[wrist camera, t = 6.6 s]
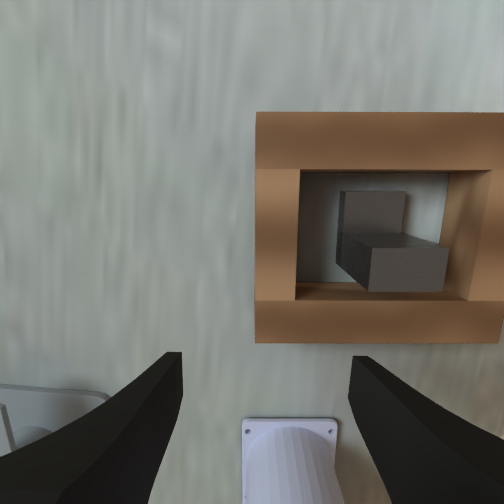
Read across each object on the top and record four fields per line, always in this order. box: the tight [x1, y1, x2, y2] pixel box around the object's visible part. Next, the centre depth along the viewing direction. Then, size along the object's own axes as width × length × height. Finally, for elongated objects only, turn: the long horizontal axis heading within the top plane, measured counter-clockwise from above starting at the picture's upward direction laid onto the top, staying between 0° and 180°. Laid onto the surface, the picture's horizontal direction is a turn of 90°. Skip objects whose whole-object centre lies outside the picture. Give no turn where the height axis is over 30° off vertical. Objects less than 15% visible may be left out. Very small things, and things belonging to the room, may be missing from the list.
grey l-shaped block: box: [336, 191, 449, 292], centre depth 17 cm, size 5×4×6 cm
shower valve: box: [0, 384, 110, 457], centre depth 22 cm, size 12×6×15 cm
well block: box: [255, 112, 504, 343], centre depth 19 cm, size 14×16×4 cm
